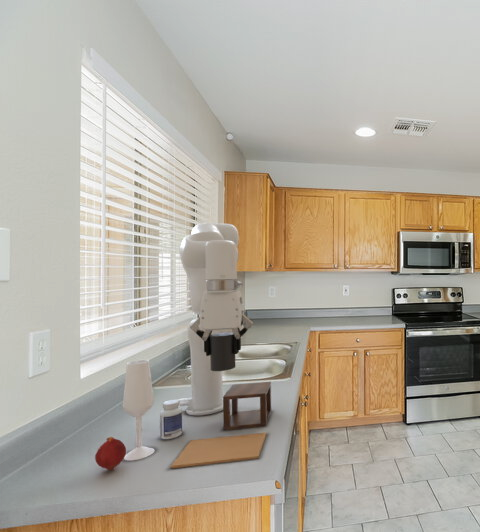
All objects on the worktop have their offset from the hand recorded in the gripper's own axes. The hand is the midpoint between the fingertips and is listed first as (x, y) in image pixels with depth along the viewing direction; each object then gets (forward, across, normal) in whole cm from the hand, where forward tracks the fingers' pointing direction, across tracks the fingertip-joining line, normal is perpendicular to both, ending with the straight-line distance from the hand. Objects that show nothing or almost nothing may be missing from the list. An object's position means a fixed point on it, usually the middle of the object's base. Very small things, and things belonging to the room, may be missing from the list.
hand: (222, 353), depth 99 cm
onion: (+26, +24, +5) cm, 36 cm away
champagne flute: (+25, +21, -2) cm, 33 cm away
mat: (+25, 0, +1) cm, 25 cm away
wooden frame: (+25, -3, -18) cm, 31 cm away
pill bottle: (+25, +17, -12) cm, 33 cm away
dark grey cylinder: (+4, 0, 0) cm, 4 cm away
